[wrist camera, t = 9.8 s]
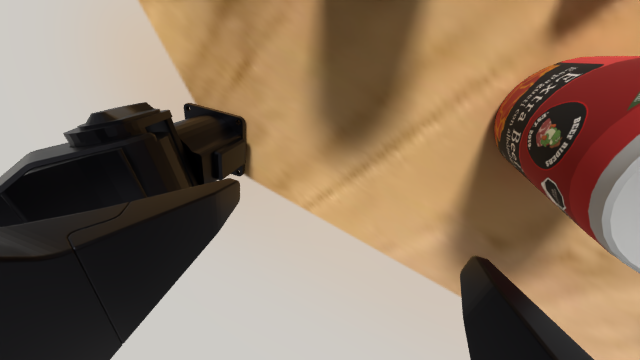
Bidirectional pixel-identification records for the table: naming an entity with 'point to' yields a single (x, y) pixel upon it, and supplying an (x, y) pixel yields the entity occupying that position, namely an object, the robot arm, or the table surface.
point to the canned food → (582, 145)
